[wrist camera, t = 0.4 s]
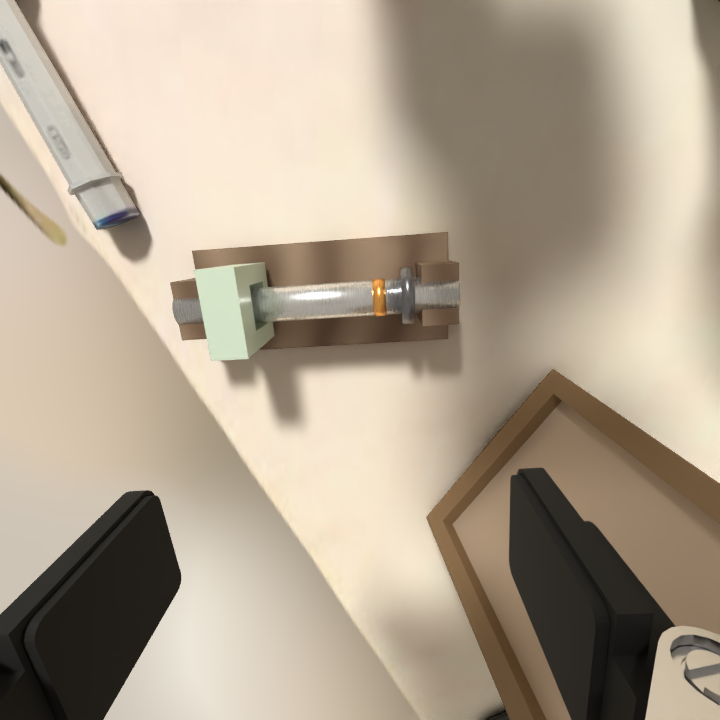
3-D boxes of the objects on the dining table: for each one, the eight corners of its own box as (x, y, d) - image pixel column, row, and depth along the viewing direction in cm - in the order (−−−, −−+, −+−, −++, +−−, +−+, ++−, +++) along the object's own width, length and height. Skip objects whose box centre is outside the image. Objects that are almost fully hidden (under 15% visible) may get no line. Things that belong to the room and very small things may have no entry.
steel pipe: (199, 330, 37) (173, 343, 32) (189, 280, 35) (161, 285, 31) (450, 315, 35) (462, 326, 31) (451, 262, 34) (462, 264, 29)
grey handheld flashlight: (79, 234, 34) (-169, -151, 24) (121, 227, 40) (-63, -83, 30) (129, 212, 33) (-105, -194, 23) (165, 209, 39) (-10, -115, 30)
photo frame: (425, 511, 45) (486, 814, 21) (548, 365, 39) (822, 556, 15) (522, 567, 47) (678, 901, 23) (653, 437, 41) (1038, 702, 17)
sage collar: (244, 337, 37) (210, 360, 30) (233, 264, 35) (193, 269, 28) (274, 335, 37) (248, 358, 30) (264, 262, 35) (233, 267, 28)
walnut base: (217, 348, 40) (187, 367, 34) (199, 250, 37) (163, 251, 31) (445, 335, 39) (458, 352, 33) (444, 232, 36) (459, 230, 30)
